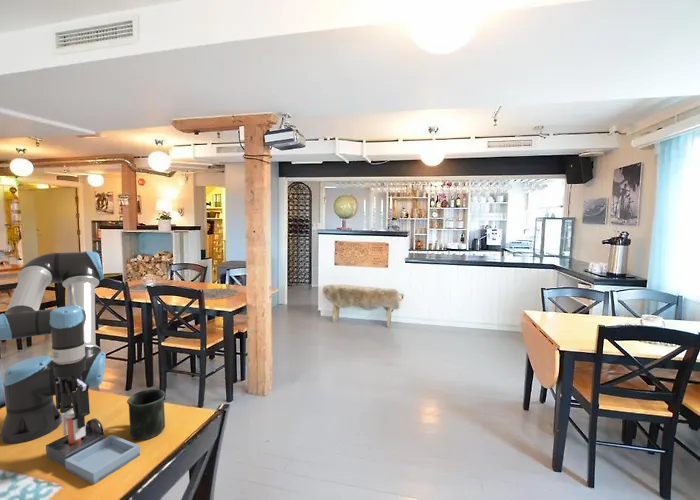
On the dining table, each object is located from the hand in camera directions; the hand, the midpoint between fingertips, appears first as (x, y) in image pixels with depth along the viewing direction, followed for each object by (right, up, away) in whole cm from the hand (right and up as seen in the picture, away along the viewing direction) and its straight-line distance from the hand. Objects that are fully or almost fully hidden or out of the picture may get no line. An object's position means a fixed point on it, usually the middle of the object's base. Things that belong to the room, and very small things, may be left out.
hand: (74, 434), depth 108 cm
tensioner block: (0, -6, +1) cm, 6 cm away
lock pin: (0, -6, +1) cm, 6 cm away
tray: (+11, -6, -3) cm, 13 cm away
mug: (+14, -5, +13) cm, 20 cm away
